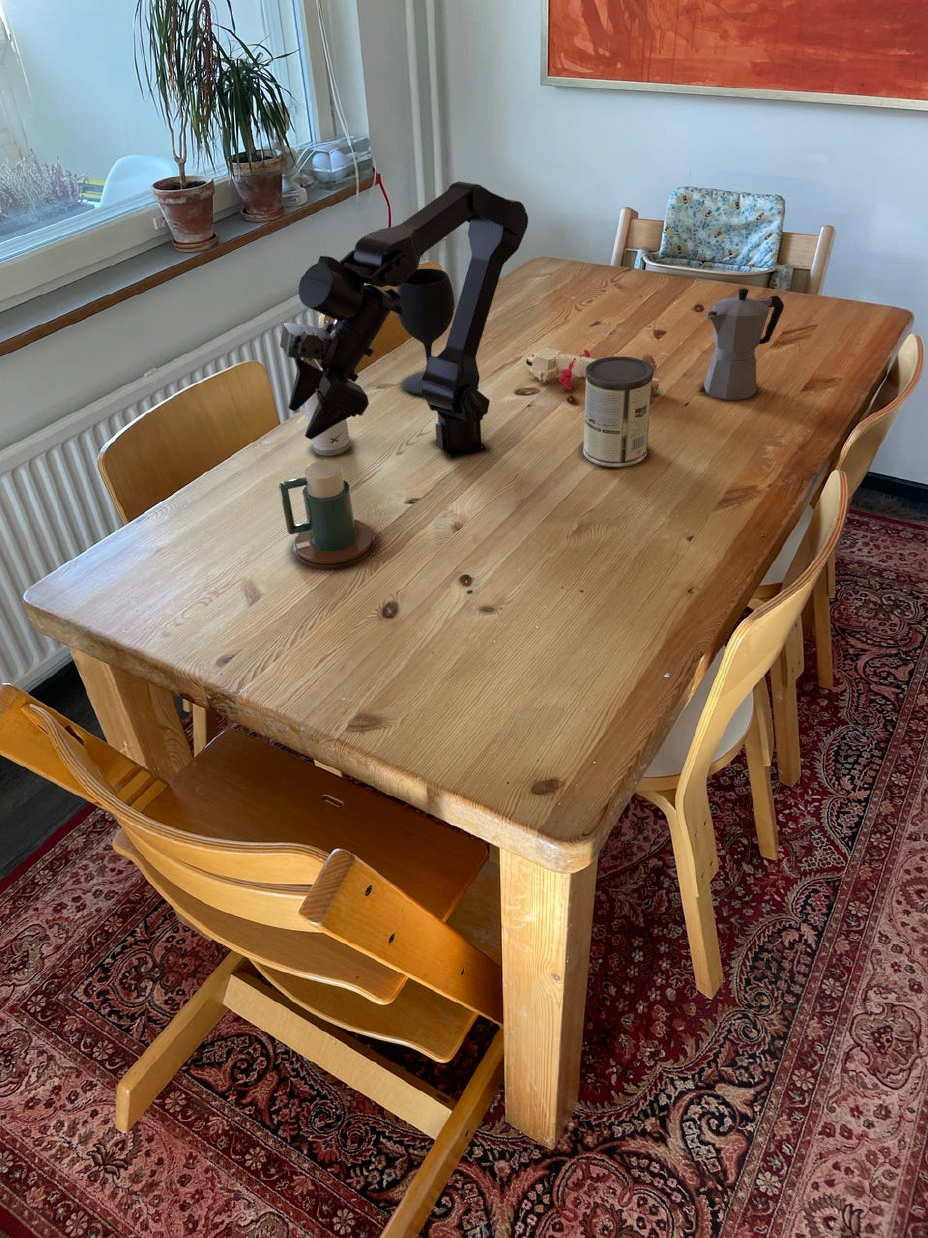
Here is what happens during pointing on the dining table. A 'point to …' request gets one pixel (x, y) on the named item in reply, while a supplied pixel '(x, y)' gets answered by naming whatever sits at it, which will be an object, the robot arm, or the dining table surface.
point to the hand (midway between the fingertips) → (299, 423)
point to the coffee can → (617, 410)
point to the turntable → (336, 565)
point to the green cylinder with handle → (326, 516)
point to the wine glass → (425, 313)
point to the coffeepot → (738, 343)
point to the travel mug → (328, 433)
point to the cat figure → (569, 366)
